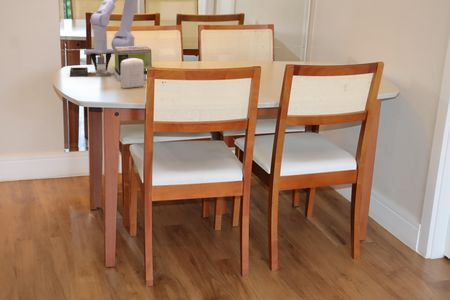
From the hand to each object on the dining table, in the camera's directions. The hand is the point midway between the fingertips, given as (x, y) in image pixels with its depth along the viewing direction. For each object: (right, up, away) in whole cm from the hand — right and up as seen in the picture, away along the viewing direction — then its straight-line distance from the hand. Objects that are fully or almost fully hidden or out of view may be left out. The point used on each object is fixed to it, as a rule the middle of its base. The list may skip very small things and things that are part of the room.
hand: (101, 70), depth 287 cm
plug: (0, -2, +1) cm, 2 cm away
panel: (-5, -3, 0) cm, 6 cm away
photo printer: (+17, -9, -16) cm, 25 cm away
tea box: (+15, -5, -4) cm, 16 cm away
